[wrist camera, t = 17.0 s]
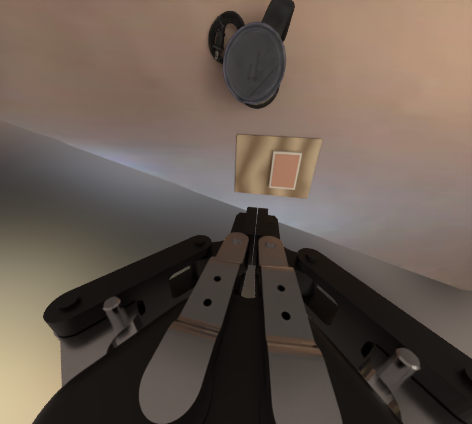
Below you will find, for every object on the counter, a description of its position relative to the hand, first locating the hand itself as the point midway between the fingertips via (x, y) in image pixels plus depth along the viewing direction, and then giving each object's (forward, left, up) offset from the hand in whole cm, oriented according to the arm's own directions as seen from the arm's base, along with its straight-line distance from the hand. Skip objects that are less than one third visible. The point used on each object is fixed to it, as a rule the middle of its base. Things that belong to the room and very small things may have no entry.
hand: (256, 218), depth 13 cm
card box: (-2, +4, -33) cm, 34 cm away
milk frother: (+6, -16, -35) cm, 39 cm away
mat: (-3, +4, -35) cm, 35 cm away
